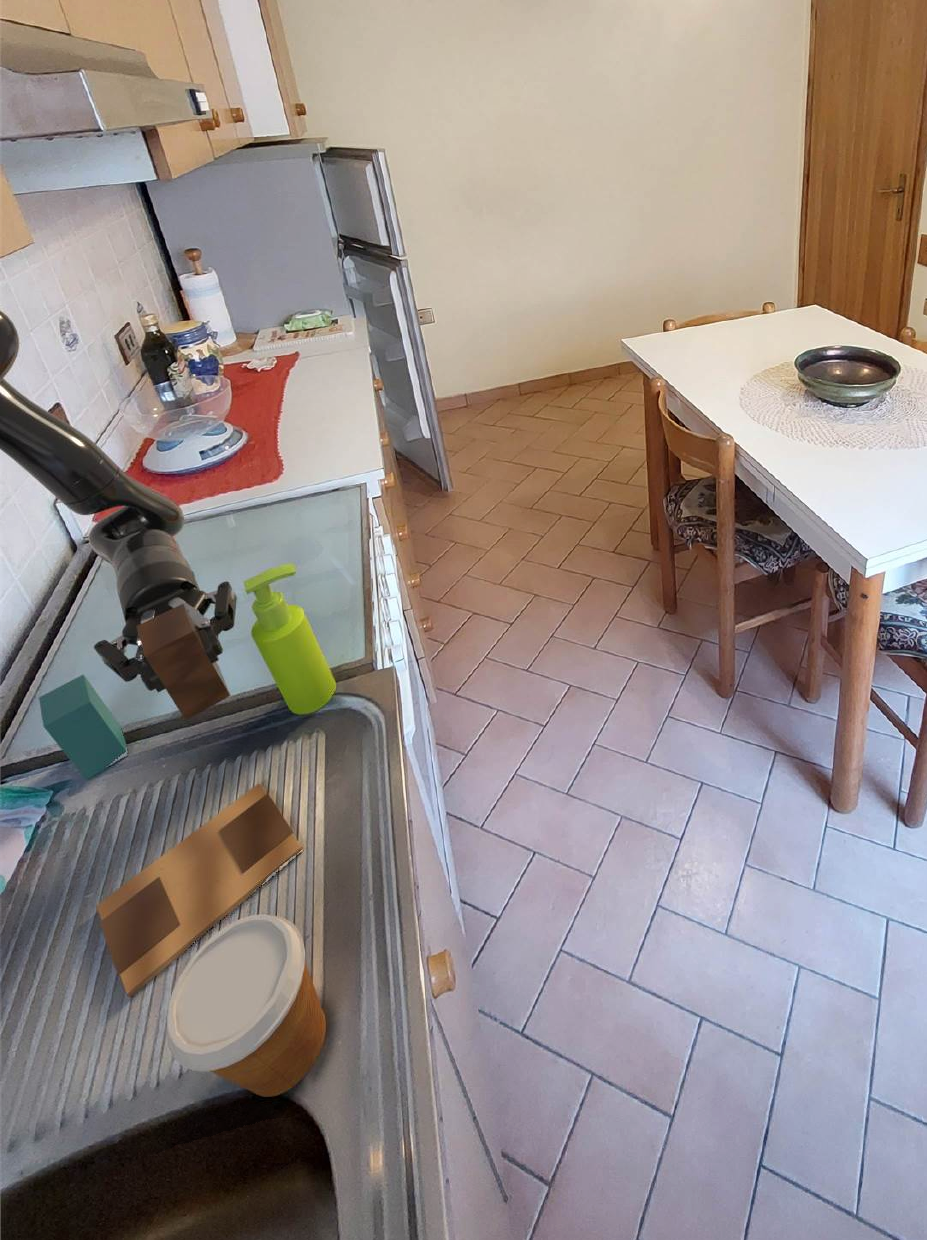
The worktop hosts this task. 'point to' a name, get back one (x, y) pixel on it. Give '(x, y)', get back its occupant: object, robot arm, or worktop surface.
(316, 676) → the soap dispenser
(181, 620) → the brown wooden block
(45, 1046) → the worktop surface
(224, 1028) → the disposable coffee cup
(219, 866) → the word board
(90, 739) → the tall teal prism
